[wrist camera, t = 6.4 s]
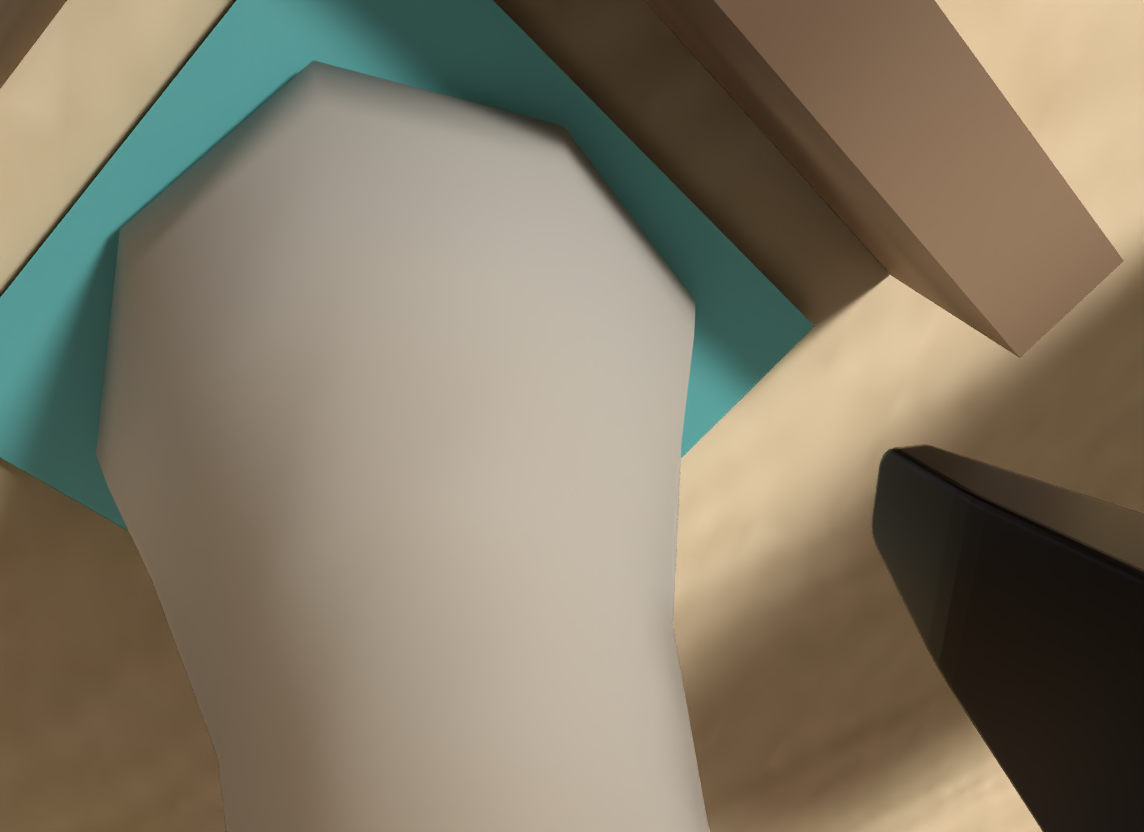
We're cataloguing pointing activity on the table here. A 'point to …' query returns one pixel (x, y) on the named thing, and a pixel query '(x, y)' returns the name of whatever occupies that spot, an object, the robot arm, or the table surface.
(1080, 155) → the table surface
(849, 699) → the table surface
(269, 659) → the flask
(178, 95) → the pad
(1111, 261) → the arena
